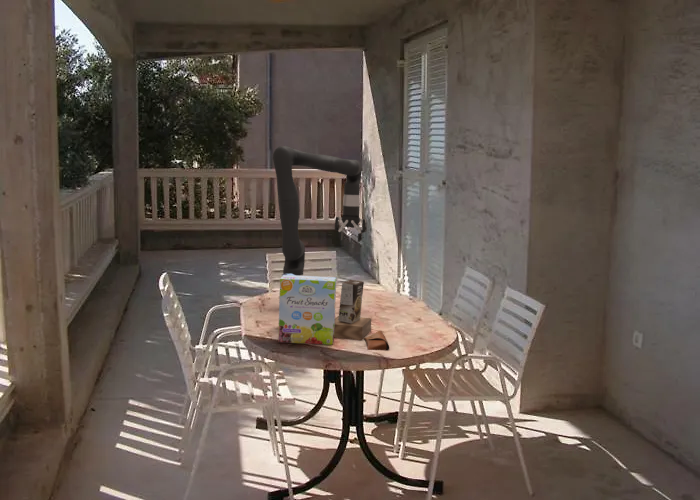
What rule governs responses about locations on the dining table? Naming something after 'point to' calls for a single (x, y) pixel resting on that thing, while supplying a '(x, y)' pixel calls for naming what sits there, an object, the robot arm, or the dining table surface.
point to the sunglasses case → (377, 341)
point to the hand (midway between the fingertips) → (350, 240)
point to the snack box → (307, 309)
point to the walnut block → (352, 329)
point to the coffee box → (351, 301)
